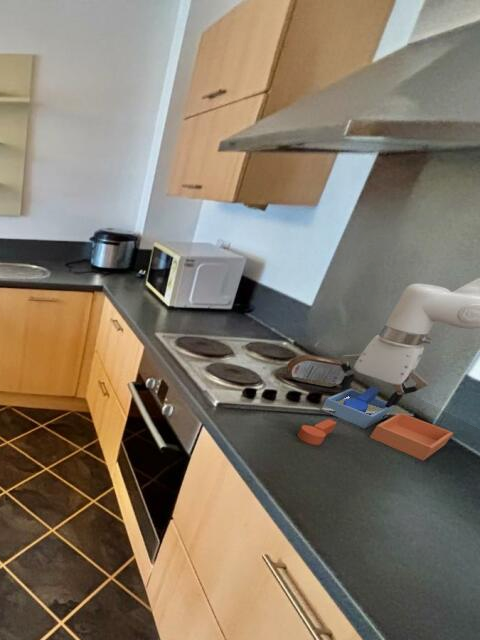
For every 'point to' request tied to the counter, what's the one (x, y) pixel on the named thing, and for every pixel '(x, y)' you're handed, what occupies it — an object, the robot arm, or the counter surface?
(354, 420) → the blue bin
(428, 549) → the counter surface
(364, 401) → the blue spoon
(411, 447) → the terracotta bin
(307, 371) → the tin
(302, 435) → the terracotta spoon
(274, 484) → the counter surface
